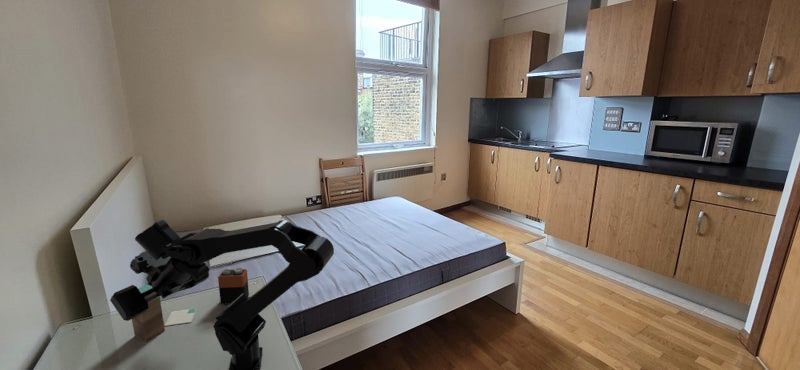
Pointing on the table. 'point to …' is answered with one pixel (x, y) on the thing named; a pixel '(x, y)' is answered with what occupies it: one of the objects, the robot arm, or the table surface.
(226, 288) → the battery
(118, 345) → the table surface
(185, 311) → the pad
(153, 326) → the block
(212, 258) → the robot arm
